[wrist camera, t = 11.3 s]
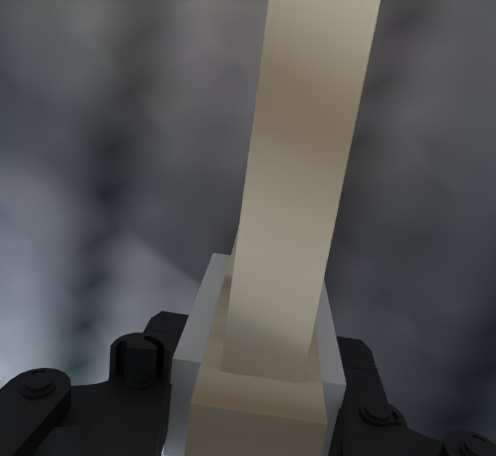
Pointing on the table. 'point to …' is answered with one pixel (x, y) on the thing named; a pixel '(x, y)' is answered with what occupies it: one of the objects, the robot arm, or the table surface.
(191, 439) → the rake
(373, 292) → the table surface
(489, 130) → the table surface
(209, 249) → the table surface
